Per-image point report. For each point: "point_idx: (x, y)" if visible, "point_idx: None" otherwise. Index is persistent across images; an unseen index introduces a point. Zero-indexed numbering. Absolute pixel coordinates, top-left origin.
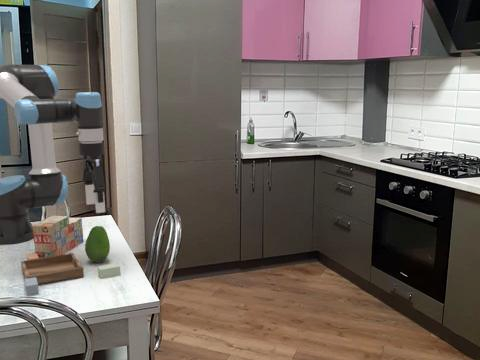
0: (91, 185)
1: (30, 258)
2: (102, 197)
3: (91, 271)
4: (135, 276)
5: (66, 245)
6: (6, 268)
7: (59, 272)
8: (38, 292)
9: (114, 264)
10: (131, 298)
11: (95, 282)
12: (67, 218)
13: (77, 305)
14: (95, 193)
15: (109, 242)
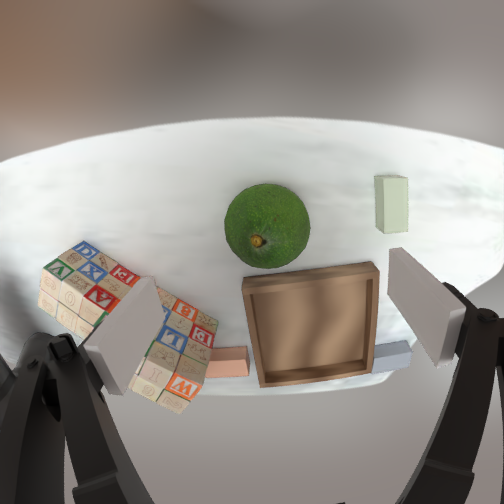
0: (107, 358)
1: (242, 372)
2: (464, 301)
3: (340, 240)
4: (418, 144)
5: None
6: (235, 393)
7: (376, 320)
8: (406, 342)
9: (387, 188)
10: (500, 188)
11: (412, 239)
12: None
13: (480, 279)
14: (448, 357)
15: (277, 187)
